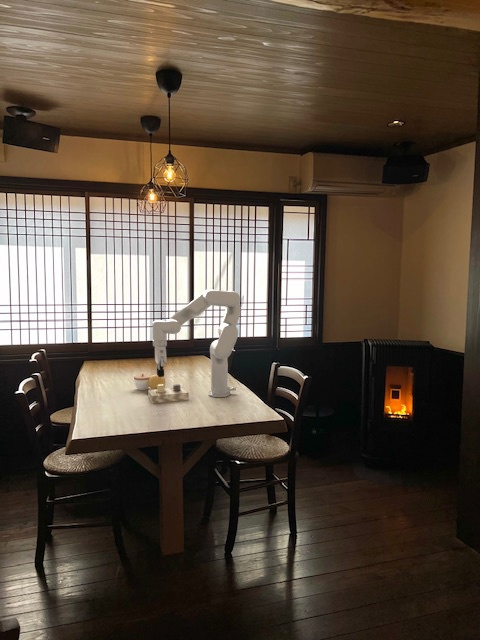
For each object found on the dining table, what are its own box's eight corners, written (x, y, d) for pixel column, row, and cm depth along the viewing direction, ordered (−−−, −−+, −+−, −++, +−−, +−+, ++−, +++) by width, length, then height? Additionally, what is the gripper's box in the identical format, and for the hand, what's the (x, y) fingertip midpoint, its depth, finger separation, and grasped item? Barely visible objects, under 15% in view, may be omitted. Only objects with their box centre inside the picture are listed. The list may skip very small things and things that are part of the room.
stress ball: (146, 393, 277) (152, 385, 270) (145, 378, 282) (150, 370, 275) (163, 394, 281) (168, 386, 274) (161, 379, 287) (167, 371, 280)
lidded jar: (130, 390, 280) (130, 375, 279) (138, 386, 290) (138, 371, 289) (147, 391, 277) (147, 376, 276) (155, 387, 288) (154, 372, 287)
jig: (183, 393, 272) (182, 381, 271) (188, 399, 260) (188, 387, 259) (148, 397, 265) (148, 384, 265) (152, 403, 253) (151, 390, 253)
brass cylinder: (164, 397, 264) (163, 383, 263) (165, 399, 260) (165, 385, 259) (156, 398, 263) (156, 384, 262) (158, 400, 259) (157, 386, 258)
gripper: (169, 344, 252) (170, 378, 254) (163, 340, 267) (164, 372, 269) (155, 345, 249) (156, 379, 251) (150, 341, 264) (151, 373, 266)
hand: (160, 375), depth 260 cm, fingers open, 3 cm apart
